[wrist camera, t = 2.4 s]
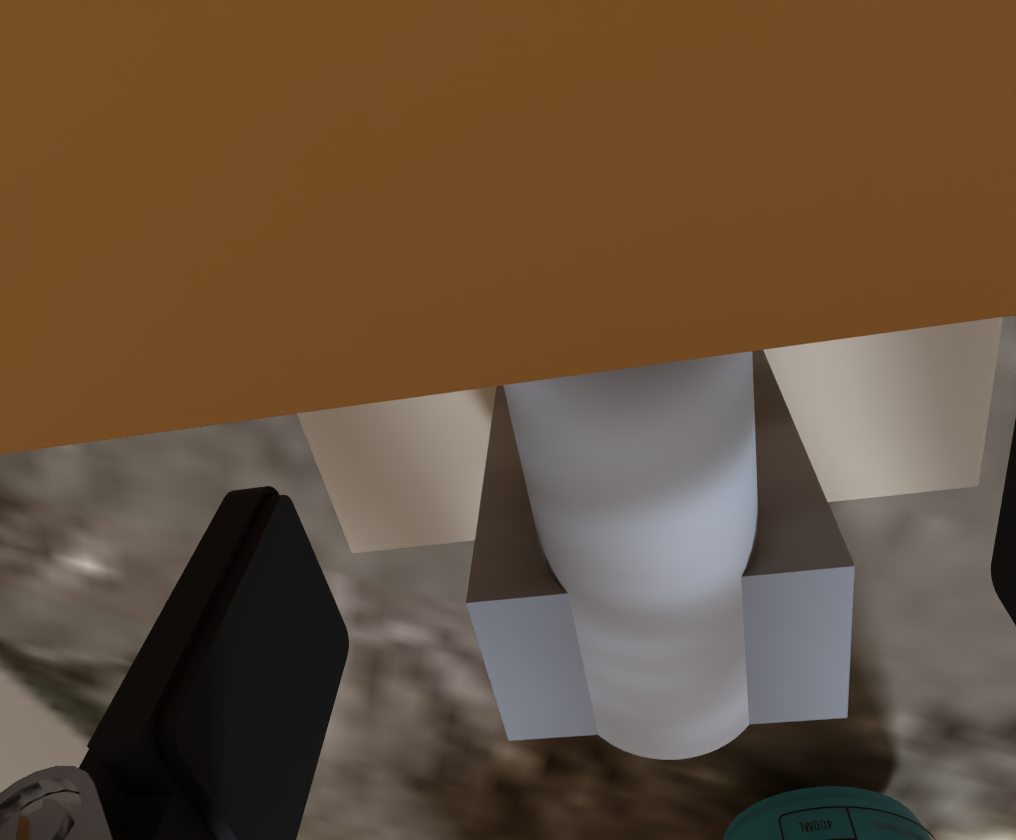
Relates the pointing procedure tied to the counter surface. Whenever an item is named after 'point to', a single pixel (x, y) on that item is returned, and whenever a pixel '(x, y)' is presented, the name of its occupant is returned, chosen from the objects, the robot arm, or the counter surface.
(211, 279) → the brown slab
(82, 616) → the counter surface
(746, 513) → the pipe rig
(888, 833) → the beverage bottle
